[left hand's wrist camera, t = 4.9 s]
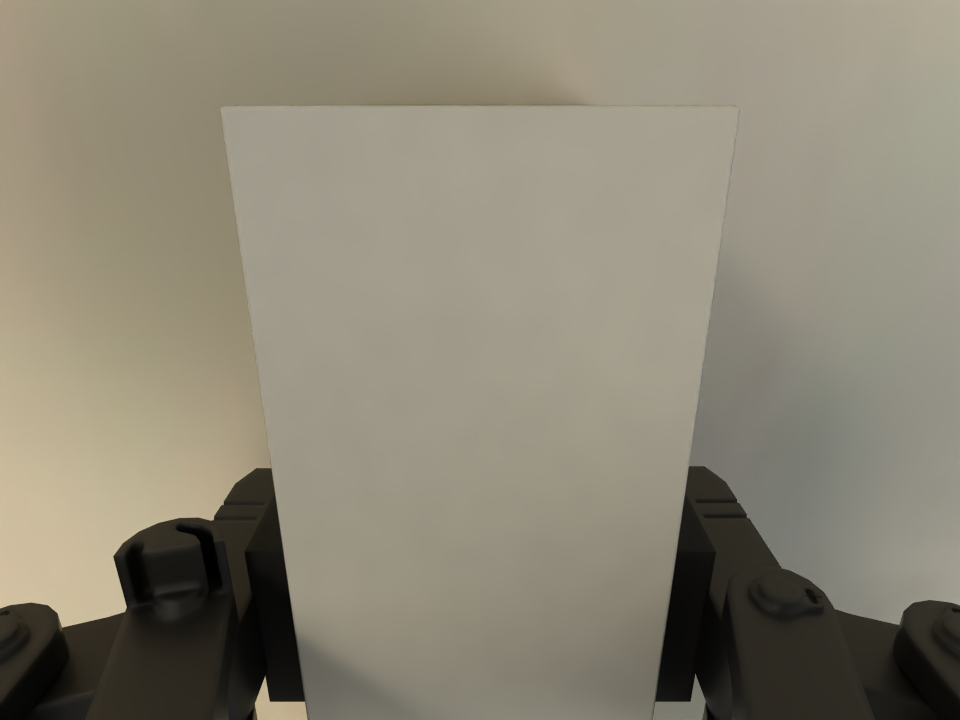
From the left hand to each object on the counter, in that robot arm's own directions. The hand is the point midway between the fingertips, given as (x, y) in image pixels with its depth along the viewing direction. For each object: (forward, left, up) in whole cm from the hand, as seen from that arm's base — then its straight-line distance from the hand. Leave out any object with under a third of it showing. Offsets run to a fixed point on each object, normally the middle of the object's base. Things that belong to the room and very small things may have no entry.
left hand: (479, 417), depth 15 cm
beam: (+20, -15, -1) cm, 25 cm away
